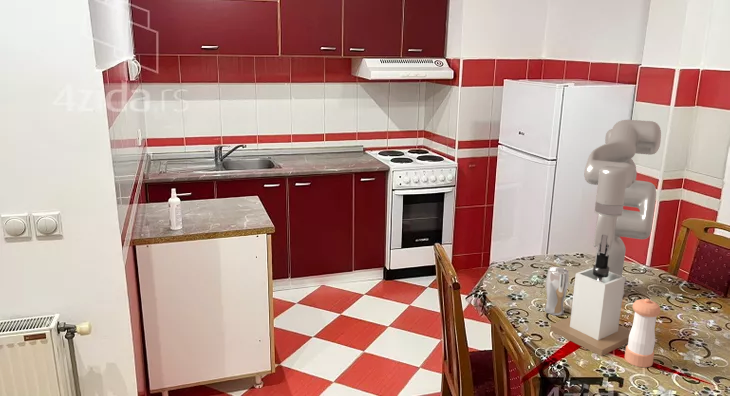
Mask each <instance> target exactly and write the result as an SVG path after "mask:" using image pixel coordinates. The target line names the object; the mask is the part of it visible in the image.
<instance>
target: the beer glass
mask: <svg viewBox="0 0 730 396" xmlns="http://www.w3.org/2000/svg"><path fill="white" fill-rule="evenodd" d="M569 273H570V272H569V270H568V269H567V268H564V267H562V266H550V267H549V268H547V273H546V280H545V289H546V304H545V307H544V312H545V313H547V314H549V315H552V316H562V315H563V314H564V312H565V311H564V301H565V298H566V294H567V291H568V288H569V275H570V274H569Z"/></svg>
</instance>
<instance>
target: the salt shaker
mask: <svg viewBox="0 0 730 396" xmlns="http://www.w3.org/2000/svg"><path fill="white" fill-rule="evenodd" d="M632 310H633V312H634V314H633V321H632V322H633V323H632V326H631V329H630V330H631V331H630V334H629V340H628V343H627V344H626V346H625V352H624V359H625V361H626V362H627V363H629V364H630V365H632V366H635V367H639V368H650V367H652V366H653V364H654V357H655V352H654V347H655V343H656V335H655V334H656V331H655V329H656V322H657V316H659V315H660V313H661V312H662V311H661V310H662V309H661V307H660V305H659V303H658V302H655V301H652V300H651V299H650V298H645V299H641V298H640V299H637V300H634V302H633V304H632Z"/></svg>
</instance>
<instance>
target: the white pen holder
mask: <svg viewBox="0 0 730 396" xmlns="http://www.w3.org/2000/svg"><path fill="white" fill-rule="evenodd" d="M574 277H575V279H574V285H573V286H574V287H573V296H572V304H571V312H570V316H569V317H568V318H564V319H562V320H560V321H557V322H554V323H552V324H550V329H549V330H550V331H551V332H552V333H555V334H556V335H558V336H560V337H562V338H564V339H566V340H568V341H570V342H572V343H574V344H576V345H578V346H579V347H582V348H585V349H586V350H588V351H590V352H592V353H594V354H596V355H598V356H599V357H602V356H605V355H606V354H609V353H611V352H613V351H615V350H617V349H619V348H621V347H623V346H625V345H628V340H629V334H630V331H631V329H629V328H627V327H624V326H622V325H620V317H621V310H622V303H623V297H624V296H623V291H625V290H624V289H625V283H626V282H625V278H626V276H623V275H622V276H620V275H618V274H615V273H612V272H609V275H608V277H604V278H603V279H602V282H600V281H597V278H598V277H597V276H595V275H593V267H590V268H587V269H584V270H581V271H578V272H575V276H574Z"/></svg>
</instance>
